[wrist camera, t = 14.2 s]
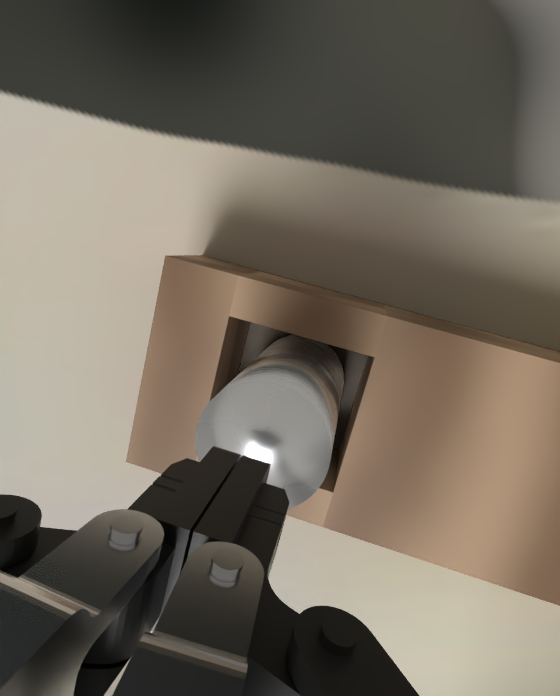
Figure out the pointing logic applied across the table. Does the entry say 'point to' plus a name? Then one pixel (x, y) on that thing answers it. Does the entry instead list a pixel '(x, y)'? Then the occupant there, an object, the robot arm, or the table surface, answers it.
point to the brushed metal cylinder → (280, 414)
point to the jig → (380, 419)
